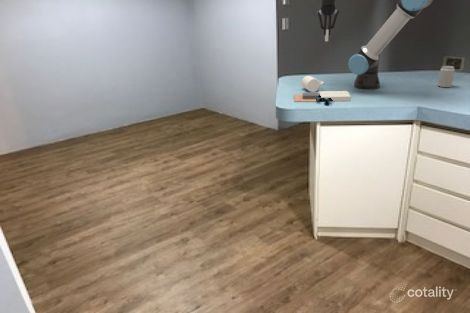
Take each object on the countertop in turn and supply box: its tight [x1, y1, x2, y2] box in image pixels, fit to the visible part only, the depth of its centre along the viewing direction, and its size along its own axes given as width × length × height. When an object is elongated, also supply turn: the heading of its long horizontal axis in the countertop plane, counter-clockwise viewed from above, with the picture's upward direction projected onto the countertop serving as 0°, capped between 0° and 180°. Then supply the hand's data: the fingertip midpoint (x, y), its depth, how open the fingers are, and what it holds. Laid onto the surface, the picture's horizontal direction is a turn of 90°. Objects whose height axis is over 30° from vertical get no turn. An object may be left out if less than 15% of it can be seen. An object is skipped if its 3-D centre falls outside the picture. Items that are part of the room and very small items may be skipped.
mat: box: [293, 94, 316, 103], centre depth 210 cm, size 14×14×1 cm
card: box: [301, 92, 319, 99], centre depth 209 cm, size 9×6×2 cm, turn 83°
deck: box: [318, 90, 352, 102], centre depth 207 cm, size 16×12×2 cm
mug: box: [301, 75, 325, 93], centre depth 226 cm, size 12×10×8 cm
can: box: [437, 65, 456, 88], centre depth 219 cm, size 8×8×12 cm
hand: (326, 40), depth 221 cm, fingers closed
